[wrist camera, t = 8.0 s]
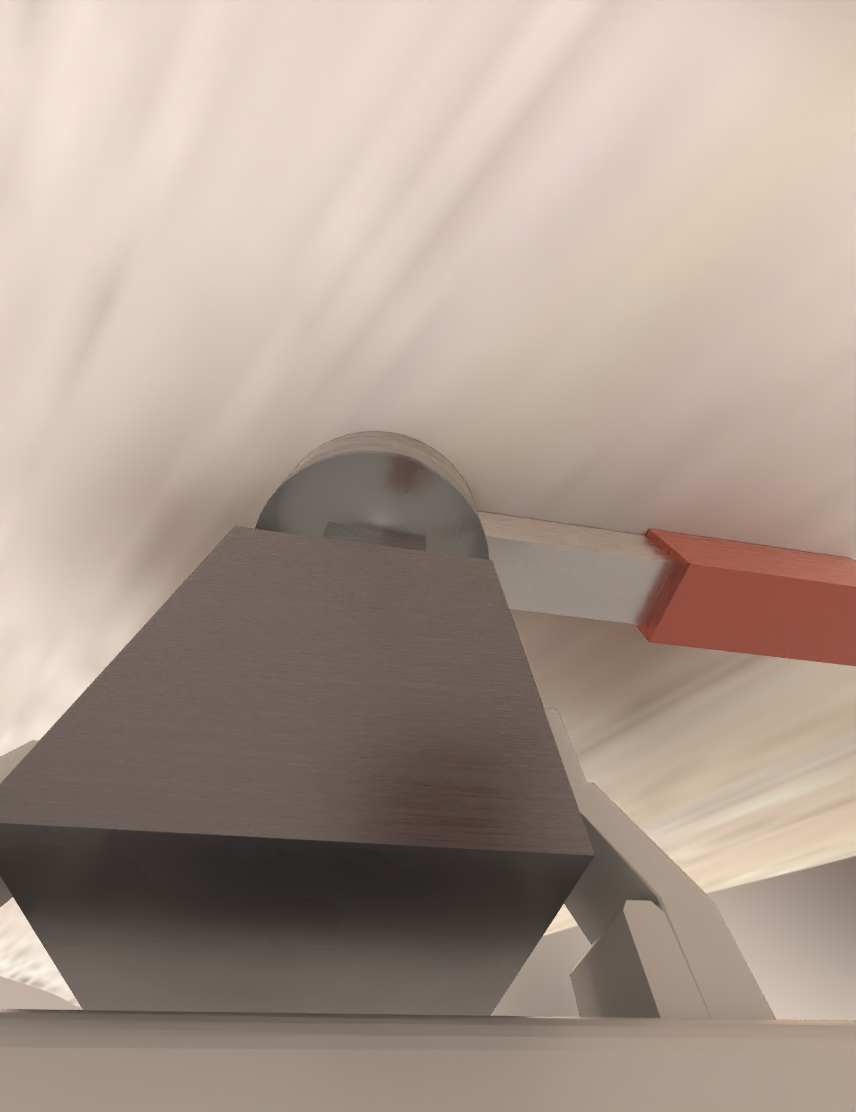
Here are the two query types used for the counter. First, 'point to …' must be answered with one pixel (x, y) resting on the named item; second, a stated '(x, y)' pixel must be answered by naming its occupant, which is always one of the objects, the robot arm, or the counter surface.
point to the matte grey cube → (301, 794)
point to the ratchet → (576, 556)
